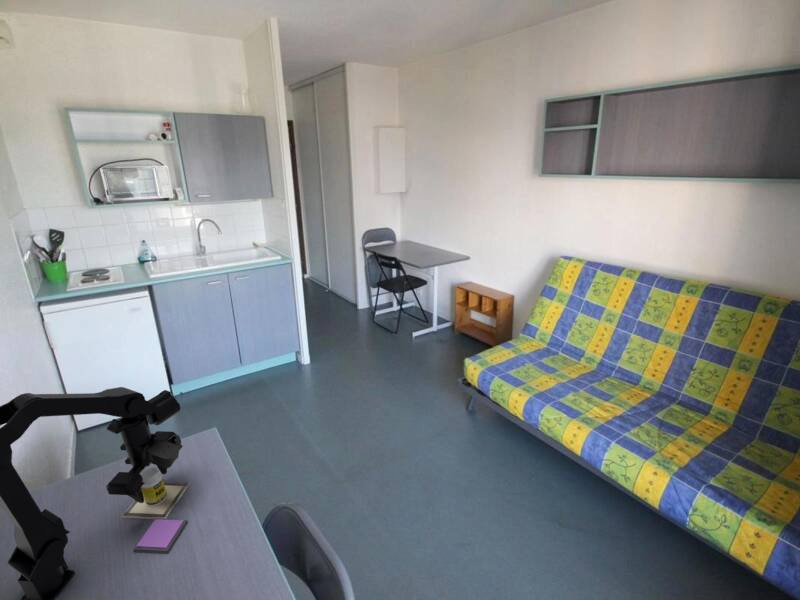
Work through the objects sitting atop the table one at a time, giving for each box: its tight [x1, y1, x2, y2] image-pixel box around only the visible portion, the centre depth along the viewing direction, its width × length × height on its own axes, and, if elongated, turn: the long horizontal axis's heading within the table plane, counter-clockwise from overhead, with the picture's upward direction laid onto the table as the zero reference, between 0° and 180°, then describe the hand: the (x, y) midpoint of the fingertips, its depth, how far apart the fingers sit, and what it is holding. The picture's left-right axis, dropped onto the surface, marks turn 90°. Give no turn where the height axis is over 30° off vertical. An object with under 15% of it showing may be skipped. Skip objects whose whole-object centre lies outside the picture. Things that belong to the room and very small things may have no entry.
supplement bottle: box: [140, 467, 167, 506], centre depth 106 cm, size 5×5×8 cm
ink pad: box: [132, 518, 189, 554], centre depth 97 cm, size 8×8×1 cm
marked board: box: [121, 481, 190, 520], centre depth 107 cm, size 11×11×1 cm
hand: (153, 487), depth 106 cm, fingers open, 9 cm apart
